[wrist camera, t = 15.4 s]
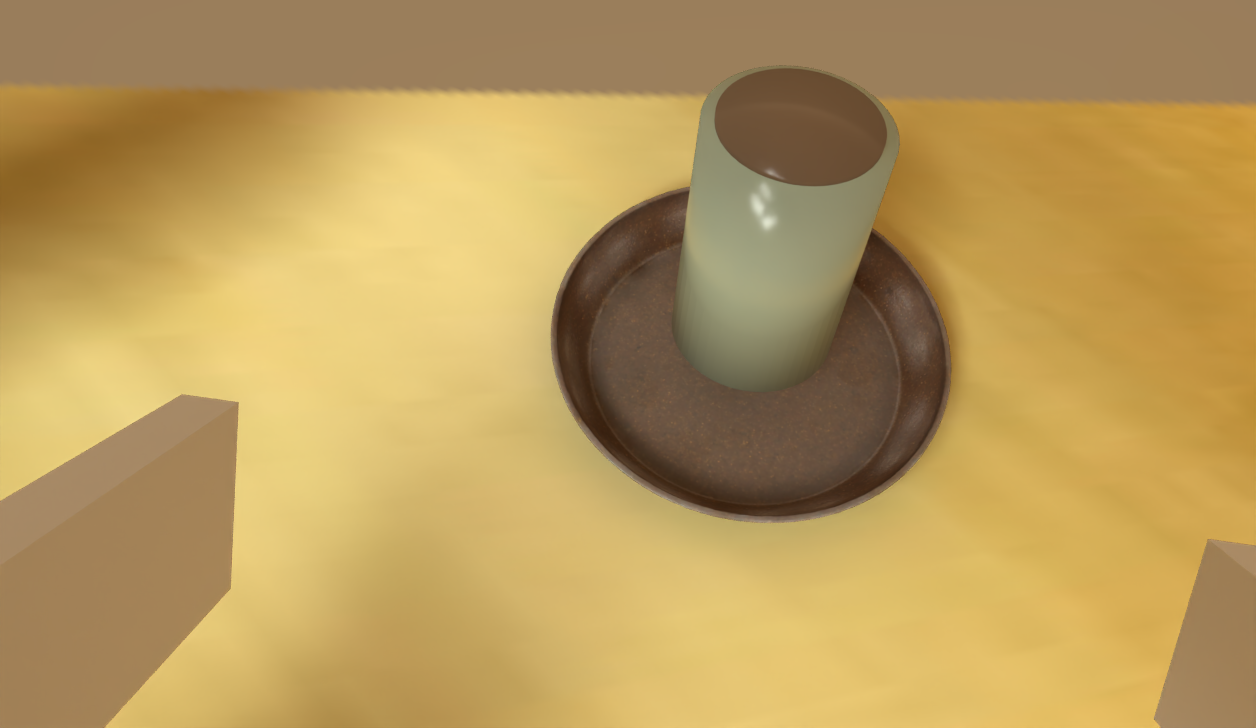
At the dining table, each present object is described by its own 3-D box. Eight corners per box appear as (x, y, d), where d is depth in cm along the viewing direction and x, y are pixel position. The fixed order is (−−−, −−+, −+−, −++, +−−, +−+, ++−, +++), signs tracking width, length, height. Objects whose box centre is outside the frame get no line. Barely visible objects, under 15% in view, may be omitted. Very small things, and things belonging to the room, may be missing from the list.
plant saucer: (522, 243, 50) (520, 203, 47) (858, 197, 53) (873, 157, 50) (593, 585, 41) (595, 559, 39) (989, 507, 44) (1017, 479, 42)
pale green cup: (638, 329, 44) (659, 121, 35) (736, 244, 47) (778, 36, 38) (768, 421, 41) (827, 222, 32) (862, 324, 44) (939, 121, 36)
